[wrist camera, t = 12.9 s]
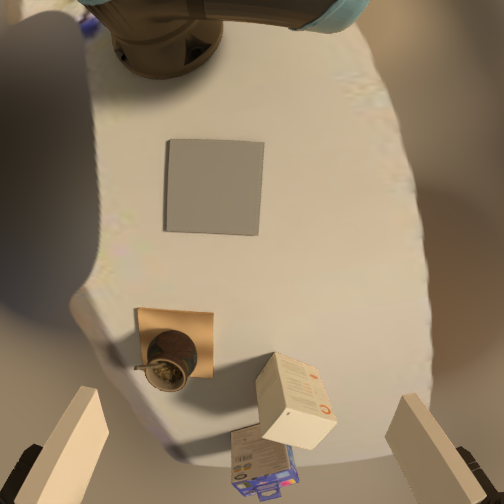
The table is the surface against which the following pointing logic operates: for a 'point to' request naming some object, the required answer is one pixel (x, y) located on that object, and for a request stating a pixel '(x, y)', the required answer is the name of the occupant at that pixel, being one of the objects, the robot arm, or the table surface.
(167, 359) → the mate gourd
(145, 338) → the square wooden coaster
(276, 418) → the small box
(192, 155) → the felt pad
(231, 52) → the table surface
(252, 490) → the ink cartridge box
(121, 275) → the table surface
